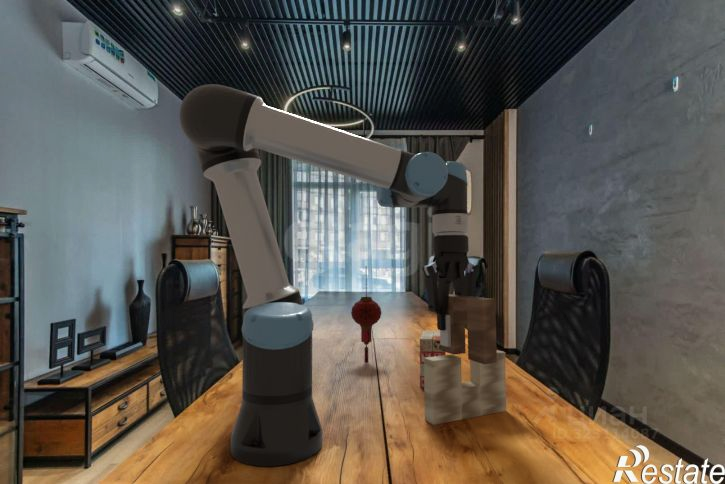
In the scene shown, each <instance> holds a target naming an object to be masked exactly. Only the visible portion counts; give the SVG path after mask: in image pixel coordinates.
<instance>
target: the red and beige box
mask: <svg viewBox="0 0 725 484" xmlns="http://www.w3.org/2000/svg"><path fill="white" fill-rule="evenodd" d="M446 353H447V352H444V351H441V345H440V330H422V334H421V336H420V338H419V367H420V368H419V369H420V370H419V371H420V372H419V373H420V375H419V388H420V389H424V358H426V357H435V356H444V355H447V354H446Z"/></svg>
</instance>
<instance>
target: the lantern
mask: <svg viewBox="0 0 725 484" xmlns="http://www.w3.org/2000/svg"><path fill="white" fill-rule="evenodd" d="M367 286H368V285H367V267H365V296H361V297H360V299H359V300H358V301H356V302H355V303H354V305H353V306H352V307H351V312H350V313H351V318H352V319H353V321H354V322H355V323H356V324H357V325H359V326H360V329H361V330H360V333H361V334H360V336H361V337H360V340H361V343H363V344H364V345H365V347H364V363H369V346H368V345H369V344H370V343H372V329H373V326H374V325H375V324H377V323H378V321H379V320H380V319H381V317H382V310H381V306H380V305H379V303H378V302H376V301H374V300H373V298H372V296H367V295H368V294H367V293H368V292H367V288H368V287H367Z"/></svg>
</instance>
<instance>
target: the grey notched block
mask: <svg viewBox="0 0 725 484" xmlns="http://www.w3.org/2000/svg"><path fill="white" fill-rule="evenodd" d="M469 366H470V367H469V369H470V371H469V372H470V373H469V374H470V379H469V380H470V381H466V382H462V357H460V356H457V355H456V354H455V355H453V354H446V355H444V356H435V357H426V358H424V388H423V389H424V420H425V421H426V422H428V423H430V424H431V425H433V426H434V425H441V424H445V423H450V422H455V421H459V420H460V421H461V420H465V419H472V418H477V417H481V416H485V415H487V416H488V415H490V414H491V415H492V414H496V413H502V412H506V411H507V390H506V389H507V388H506V387H507V385H506V384H507V382H506V381H507V379H506V373H507V371H506V352H505V351H503V350H502V351H501V350H498V349H497V363H490V364H482V363H479V362H475V361H472V360H469Z"/></svg>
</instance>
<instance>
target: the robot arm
mask: <svg viewBox="0 0 725 484" xmlns="http://www.w3.org/2000/svg"><path fill="white" fill-rule="evenodd" d="M179 107H180V108H179V111H178V114H179V115H178V116H179V123H180V127H181V129H182V131H183V134H185V136H186V138H187V139H188V140H189V141H190V142H191V143H192V144H193V145H194V147H195V151H196V153H197V157H198V161H199V164H200V167H201V170H202V175H203V177H204V178H206V179H208V180H210V181H211V182H213V184H214V186H215V190H216V193H217V196H218V200H219V203H220V207H221V210H222V213H223V218H224V220H225V223H226V227H227V231H228V234H229V237H230V241H231V244H232V248H233V250H234V254H235V258H236V262H237V266H238V269H239V271H240V276H241V278H242V282H243V284H244V289H245V292H246V297H247V298H246V300H245V301H244V304H243V306H242V309H243V310H242V311H243V313H244V314H243V317H242V318H243V320H242V322H243V323H242V325H241V333H242V380H241V381H242V385H241V387H242V388H241V389H242V390H241V391H242V393H241V394H242V396H241V397H242V398H241V399H242V401H241V404H240V408H239V410H238V411H239V412H238V414H237V417H236V420H235V424H234V425H233V426H234V427H233V430H232V432H231V436H230V454H231V455H232V457H233V458H234V459H235V460H237V461H238V462H240V463H243V464H247V465H250V466H258V467H277V466H284V465H285V466H286V465H290V464H294V463H298V462H301V461H304V460H307V459H308V458H311V457H313V456H314V455H315V454H316V453H318V452H319V451H320V450H321V449H322V446H323V427H322V423H321V421H320V418H319V415H318V412H317V408H316V405H315V401H314V398H313V331H314V320H313V313H312V311H311V309H310V308H309V307H308V306H306V305H305V304H304V302H303V299H302V298H303V297H302V295H301V293H300V289H299V288H297V287H295V286H293V285H291V284H290V282H289V278H288V275H287V271H286V268H285V264H284V262H283V257H282V253H281V250H280V247H279V243H278V240H277V238H276V234H275V230H274V227H273V224H272V220H271V217H270V214H269V209H268V207H267V204H266V201H265V197H264V193H263V190H262V187H261V183H260V179H259V176H258V170H259V168H260V166H261V165H262V160H261V157H260V153H259V151H258V150H262V151H264V152H268V153H270V154H274V155H278V156H281V157H284V158H287V159H290V160H293V161H296V162H300V163H303V164H306V165H309V166H312V167H316V168H319V169H322V170H325V171H329V172H330V173H331V172H332V173H335V174H338V175H342V176H343V177H344V176H345V177H348V178H351V179H353V180H354V179H355V180H357V181H361V182H362V183H367V184H371V185H373V186H376V200H377V203H378V205H379V206H380V207H382V208H392V209H395V208H431V218H432V220H431V222H432V223H431V225H432V228H431V229H432V230H431V231H432V234H433V235H435V236H433V237H432V252H433V254H434V255H433V258H432V262H431V263H429V264H427V265H423V266H422V267H421V269H422V272H423V274H424V277H425V285H426V286H425V288H426V297H427V305H428V306H427V308H428V311H429V312H431V313H433V314H436V327H437V331H440V345H443V346H446V347H451V330H450V315H446V314H447V307H448V297H449V294H450V285H451V283H452V285H453V287H452V288H453V292H454V293H453V295H462V296H472V297H476V291H477V290H476V289H477V274H478V271H479V269H480V267H479V265H478V264H473V263H472V262H470V261H469V258H468V252H469V250H470V249H469V236H468V235H466V234H468V232H469V221H468V220H469V215H468V213H469V212H468V177H467V168H466V166H465V164H464V163H462V162H459V161H445V160H444V159H443V158H442V157H441V156H440V155H438V154H437V153H435V152H431V151H422V152H420V153H416V154H415V153H412V152H409V151H406V150H402V149H398V148H395V147H392V146H390V145H386V144H383V143H380V142H378V141H374V140H371V139H369V138H365V137H362V136H359V135H356V134H353V133H350V132H347V131H345V130H342V129H338V128H335V127H332V126H329V125H326V124H323V123H320V122H317V121H314V120H311V119H308V118H305V117H302V116H299V115H296V114H293V113H289V112H287V111H284V110H281V109H277V108H275V107H272V106H268V105H266V103H265V102H264V101H263V98H262V96H258V95H256V94H255V95H254V94H252V93H249V92H246V91H243V90H239V89H236V88H234V87H230V86H227V85H222V84H216V83H215V84H211V83H210V84H203V85H199V86H197V87H195V88H194V89H192V90H190V91H189V92H188V93H187V94H186V95H185V96H184V98H183V99H182V101H181V104H180V105H179ZM465 329H468V328H467V326H465Z"/></svg>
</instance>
